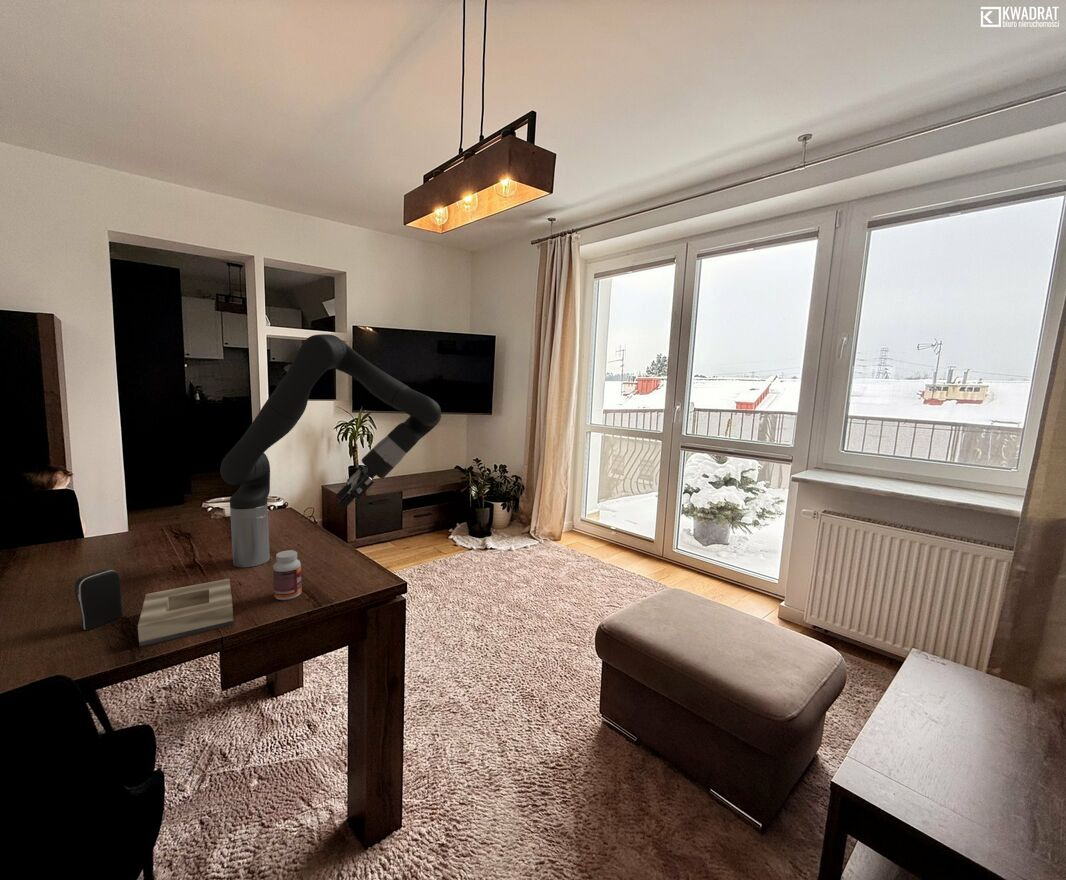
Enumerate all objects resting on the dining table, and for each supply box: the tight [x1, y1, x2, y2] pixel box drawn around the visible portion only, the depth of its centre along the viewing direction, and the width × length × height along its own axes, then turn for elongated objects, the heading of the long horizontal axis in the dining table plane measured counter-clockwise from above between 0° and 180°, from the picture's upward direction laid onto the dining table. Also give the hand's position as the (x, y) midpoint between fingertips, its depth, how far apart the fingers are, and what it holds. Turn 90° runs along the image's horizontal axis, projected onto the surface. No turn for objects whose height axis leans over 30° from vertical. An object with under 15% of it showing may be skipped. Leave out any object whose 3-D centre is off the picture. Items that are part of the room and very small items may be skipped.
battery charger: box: [74, 569, 124, 631], centre depth 100 cm, size 7×4×11 cm, turn 160°
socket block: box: [137, 578, 234, 648], centre depth 103 cm, size 16×16×4 cm
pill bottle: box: [272, 549, 303, 601], centre depth 115 cm, size 6×6×11 cm
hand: (339, 502), depth 118 cm, fingers open, 8 cm apart
